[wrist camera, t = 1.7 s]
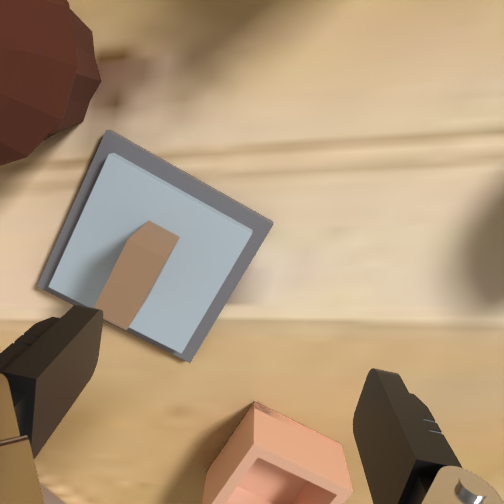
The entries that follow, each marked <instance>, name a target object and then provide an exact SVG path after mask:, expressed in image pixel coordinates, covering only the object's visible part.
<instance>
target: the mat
mask: <svg viewBox="0 0 504 504" xmlns="http://www.w3.org/2000/svg"><path fill="white" fill-rule="evenodd" d="M111 153H116V154H117V155H119V156H121V157H123V158H124V159H126V160H128V161H130V162H132V163H133V164H135V165H137V166H139V167H141V168H142V169H144V170H146V171H148V172H150V173H151V174H153V175H155V176H157V177H159V178H160V179H162V180H164V181H166V182H168V183H169V184H171V185H173V186H175V187H176V188H178V189H180V190H182V191H184V192H185V193H187V194H189V195H191V196H193V197H194V198H196V199H198V200H200V201H202V202H203V203H205V204H207V205H209V206H211V207H212V208H214V209H216V210H218V211H220V212H221V213H223V214H225V215H227V216H228V217H230V218H232V219H234V220H236V221H237V222H239V223H241V224H243V225H245V226H246V227H248V228H250V229H252V235H251V237H250V238H249V240H248V242H247V243H246V245H245V247H244V249H243V250H242V252H241V254H240V255H239V257H238V259H237V260H236V262H235V264H234V266H233V267H232V269H231V271H230V272H229V274H228V276H227V277H226V279H225V281H224V282H223V284H222V286H221V288H220V289H219V291H218V293H217V294H216V296H215V298H214V299H213V301H212V303H211V305H210V306H209V308H208V310H207V311H206V313H205V315H204V316H203V318H202V320H201V322H200V323H199V325H198V327H197V328H196V330H195V332H194V333H193V335H192V337H191V338H190V340H189V342H188V344H187V345H186V347H185V349H184V350H183V352H182V354H181V353H179V352H177V351H175V350H173V349H171V348H169V347H167V346H165V345H163V344H161V343H159V342H157V341H155V340H153V339H151V338H149V337H147V336H145V335H143V334H141V333H139V332H137V331H135V330H133V329H131V328H129V327H128V329H127V330H125V329H123V328H121V327H119V326H117V325H115V324H113V323H111V322H109V321H107V320H105V319H103V320H105V321H107V322H109V323H111V324H113V325H115V326H117V327H119V328H121V329H123V330H125V331H127V332H129V333H131V334H133V335H135V336H137V337H139V338H141V339H143V340H145V341H147V342H149V343H151V344H153V345H155V346H157V347H159V348H161V349H163V350H165V351H167V352H169V353H171V354H173V355H175V356H177V357H179V358H181V359H183V360H185V361H187V362H189V363H190V362H191V361H192V359H193V357H194V356H195V354H196V352H197V351H198V349H199V347H200V346H201V344H202V342H203V341H204V339H205V337H206V336H207V334H208V332H209V331H210V329H211V327H212V326H213V324H214V322H215V321H216V319H217V317H218V316H219V314H220V312H221V311H222V309H223V307H224V306H225V304H226V302H227V301H228V299H229V297H230V296H231V294H232V292H233V291H234V289H235V287H236V286H237V284H238V282H239V281H240V279H241V277H242V276H243V274H244V272H245V271H246V269H247V267H248V266H249V264H250V262H251V261H252V259H253V257H254V256H255V254H256V252H257V251H258V249H259V247H260V246H261V244H262V242H263V241H264V239H265V237H266V236H267V234H268V232H269V231H270V229H271V227H272V226H273V221H271V220H269V219H267V218H265V217H264V216H262V215H260V214H258V213H257V212H255V211H253V210H251V209H250V208H248V207H246V206H244V205H242V204H241V203H239V202H237V201H235V200H234V199H232V198H230V197H228V196H226V195H225V194H223V193H221V192H219V191H218V190H216V189H214V188H212V187H211V186H209V185H207V184H205V183H203V182H202V181H200V180H198V179H196V178H195V177H193V176H191V175H189V174H188V173H186V172H184V171H182V170H180V169H179V168H177V167H175V166H173V165H172V164H170V163H168V162H166V161H165V160H163V159H161V158H159V157H157V156H156V155H154V154H152V153H150V152H149V151H147V150H145V149H143V148H141V147H140V146H138V145H136V144H134V143H133V142H131V141H129V140H127V139H126V138H124V137H122V136H120V135H118V134H117V133H115V132H113V131H111V130H106V132H105V134H104V136H103V138H102V141H101V143H100V145H99V147H98V150H97V152H96V154H95V156H94V159H93V161H92V163H91V165H90V168H89V170H88V172H87V174H86V177H85V179H84V181H83V183H82V186H81V188H80V190H79V192H78V195H77V197H76V199H75V201H74V204H73V206H72V208H71V210H70V213H69V215H68V217H67V219H66V222H65V224H64V226H63V228H62V231H61V233H60V235H59V237H58V240H57V242H56V244H55V246H54V249H53V251H52V253H51V255H50V258H49V260H48V262H47V264H46V267H45V269H44V271H43V273H42V276H41V278H40V280H39V282H38V285H37V287H39V288H41V289H43V290H45V291H47V292H49V293H51V294H53V295H55V296H57V297H59V298H61V299H63V300H65V301H67V302H69V303H71V304H73V305H82V306H85V305H83V304H81V303H79V302H77V301H75V300H73V299H71V298H69V297H67V296H65V295H63V294H61V293H59V292H57V291H55V290H53V289H51V288H49V285H50V282H51V280H52V278H53V276H54V274H55V271H56V269H57V267H58V265H59V262H60V260H61V258H62V256H63V254H64V251H65V249H66V247H67V245H68V243H69V240H70V238H71V236H72V234H73V232H74V229H75V227H76V225H77V223H78V221H79V218H80V216H81V214H82V212H83V210H84V207H85V205H86V203H87V201H88V199H89V196H90V194H91V192H92V190H93V188H94V185H95V183H96V181H97V179H98V177H99V174H100V172H101V170H102V168H103V166H104V163H105V161H106V159H107V157H108V155H109V154H111Z"/></svg>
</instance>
